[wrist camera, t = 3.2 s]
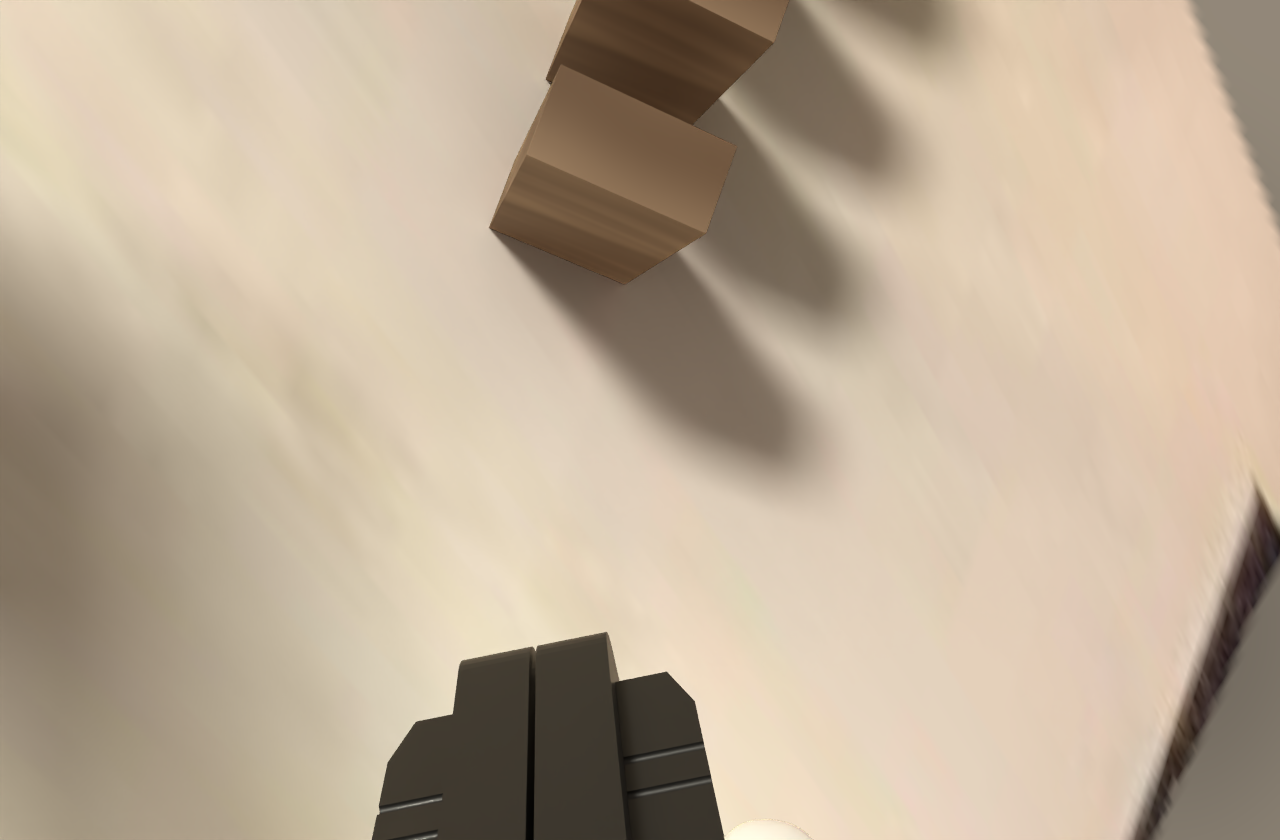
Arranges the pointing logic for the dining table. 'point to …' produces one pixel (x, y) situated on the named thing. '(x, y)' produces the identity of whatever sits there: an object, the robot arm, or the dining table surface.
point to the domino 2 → (610, 180)
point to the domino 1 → (668, 47)
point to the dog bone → (767, 831)
